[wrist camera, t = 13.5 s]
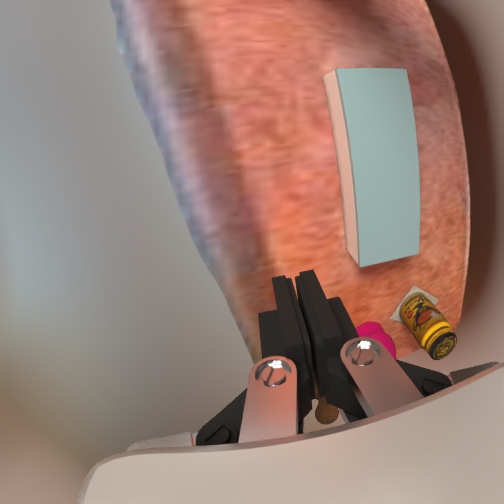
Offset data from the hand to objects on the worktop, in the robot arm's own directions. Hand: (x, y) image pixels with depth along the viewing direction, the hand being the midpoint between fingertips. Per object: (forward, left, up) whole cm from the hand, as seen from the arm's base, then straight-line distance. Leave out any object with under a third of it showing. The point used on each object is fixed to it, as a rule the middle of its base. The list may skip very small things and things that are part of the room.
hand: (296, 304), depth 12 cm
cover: (0, +15, -22) cm, 27 cm away
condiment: (+27, +24, -27) cm, 45 cm away
